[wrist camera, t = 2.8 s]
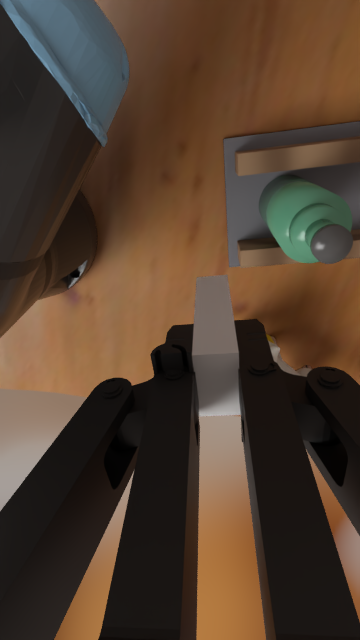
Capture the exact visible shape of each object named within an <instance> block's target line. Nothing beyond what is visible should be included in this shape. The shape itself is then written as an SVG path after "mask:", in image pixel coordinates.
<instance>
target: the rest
mask: <svg viewBox="0 0 360 640" xmlns="http://www.w3.org/2000/svg"><path fill="white" fill-rule="evenodd" d="M355 162H360V136H356V137H348V138H340V139H332V140H324V141H316V142H308V143H300V144H292V145H284V146H277V147H269V148H261V149H253V150H245V151H237V152H235V172H236V174H237V175H238V176H244V175H253V174H261V173H270V172H278V171H287V170H295V169H304V168H313V167H321V166H330V165H338V164H347V163H355ZM350 233H351V234H352V237H353V245H352V248H351V250H350V252H349V254H348V255H347V256H346V257H345V258H344V259H351V258H360V229H356V230H351V232H350ZM237 247H238V259H239V263H240V267H241V268H245V267H257V266H269V265H281V264H292V263H302V262H298V261H295V260H293V259H291V258H290V257H289V256H287V255H286V254H285V253H284V251H283V250H282V248H281V247H280V245H279V244H278V242H277V241H276V239H275V238H274V237H272V238H261V239H250V240H240V241H237Z"/></svg>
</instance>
